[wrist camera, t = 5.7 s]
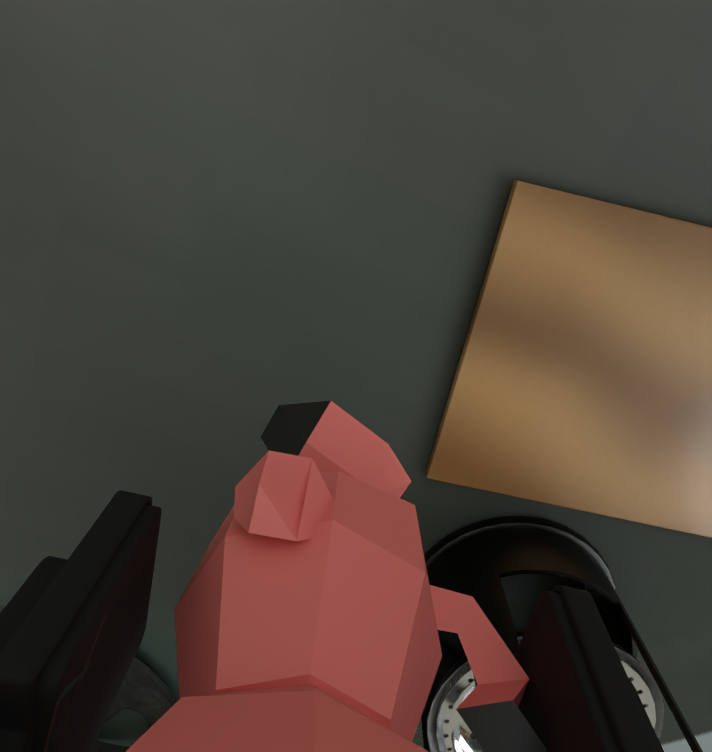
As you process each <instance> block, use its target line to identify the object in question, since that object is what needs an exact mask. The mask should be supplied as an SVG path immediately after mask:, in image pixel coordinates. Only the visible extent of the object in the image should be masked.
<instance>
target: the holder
mask: <svg viewBox="0 0 712 752" xmlns="http://www.w3.org/2000/svg"><path fill="white" fill-rule="evenodd" d="M176 702H177V699H176V698H175V696H174V695H173V693H172V691H171V690H170V688H169V687H168V686H167V685H166V684H165V683H164V682H163V681H162V680H161V679H160V678H159V677H158V676H157V675H156V674H155V673H154V672H153V671H152V670H151V669H150V668H149V667H148V666H146V665H145V664H144V663H142V662H141V661H140V660H138V659H137V658H136V657H134V659H133V661H132V663H131V665H130V667H129V670H128V672H127V674H126V676H125V678H124V680H123V683H122V685H121V687H120V689H119V691H118V693H117V695H116V698H115V700H114V702H113V704H112V706H111V708H110V710H109V713H108V715H107V717H106V719H105V721H107V720H108V719H110V718H111V717H113V716H114V715H115V714H117V713H118V712H120V711H121V710H125V709H129V710H135V711H137V712H139V713H140V714H142V715H143V716H144V717H145V718H146V720H147V721H148V723H149V725H150V727H152V726H153V725H154V724H155V723H156V722H157V721H158V720H159V719H160V718H161V717H162V716H163V715H164V714H165V713H166V712H167V711H168V710H169V709H170V708H171V707H172V706H173V705H174V704H175V703H176ZM105 721H104V722H105ZM102 748H103V752H126V751H127V750H128V749H129V748H130V747H124V746H118V745H113V744H109V743H105V742H101V741H98V740H96V741H95V743H94V745H93V747H92V749H91V751H90V752H99V751H100V750H101V749H102Z"/></svg>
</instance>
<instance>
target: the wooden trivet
mask: <svg viewBox="0 0 712 752" xmlns="http://www.w3.org/2000/svg"><path fill="white" fill-rule="evenodd" d="M426 476H427V478H428V479H433V480H438V481H442V482H447V483H452V484H457V485H461V486H466V487H471V488H476V489H481V490H485V491H490V492H495V493H500V494H505V495H509V496H514V497H519V498H524V499H528V500H533V501H538V502H543V503H548V504H552V505H557V506H562V507H567V508H572V509H576V510H581V511H586V512H591V513H595V514H600V515H605V516H610V517H615V518H619V519H624V520H629V521H634V522H638V523H643V524H648V525H653V526H658V527H662V528H667V529H672V530H677V531H682V532H686V533H691V534H696V535H701V536H705V537H710V538H712V227H708V226H704V225H700V224H696V223H692V222H688V221H683V220H679V219H675V218H671V217H667V216H663V215H659V214H655V213H650V212H646V211H642V210H638V209H634V208H630V207H626V206H622V205H617V204H613V203H609V202H605V201H601V200H597V199H593V198H589V197H584V196H580V195H576V194H572V193H568V192H564V191H560V190H556V189H552V188H547V187H543V186H539V185H535V184H531V183H527V182H523V181H519V180H514V182H513V186H512V189H511V192H510V196H509V199H508V202H507V206H506V209H505V212H504V216H503V219H502V222H501V225H500V229H499V232H498V235H497V239H496V242H495V245H494V249H493V252H492V255H491V258H490V262H489V265H488V268H487V272H486V275H485V278H484V282H483V285H482V288H481V291H480V295H479V298H478V301H477V305H476V308H475V311H474V315H473V318H472V321H471V325H470V328H469V331H468V334H467V338H466V341H465V344H464V348H463V351H462V354H461V358H460V361H459V364H458V367H457V371H456V374H455V377H454V381H453V384H452V387H451V391H450V394H449V397H448V401H447V404H446V407H445V410H444V414H443V417H442V420H441V424H440V427H439V430H438V434H437V437H436V440H435V443H434V447H433V450H432V453H431V457H430V460H429V463H428V467H427V470H426Z"/></svg>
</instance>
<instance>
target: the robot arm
mask: <svg viewBox="0 0 712 752" xmlns="http://www.w3.org/2000/svg"><path fill="white" fill-rule="evenodd" d="M160 519H161V508H160V507H156V506H152V498H151V497H149V496H145V495H140V494H136V493H131V492H126V491H122V490H120V491H118V492H117V493H116V494H115V495H114V497H113V498H112V499H111V501H110V502H109V504H108V505H107V506H106V508H105V509H104V511H103V512H102V513H101V515H100V516H99V517H98V519H97V520H96V522H95V523H94V524H93V526H92V527H91V529H90V530H89V531H88V533H87V534H86V535H85V537H84V538H83V540H82V541H81V542H80V544H79V545H78V547H77V548H76V549H75V551H74V552H73V553H72V555H71V556H70V558H69V559H68V560H66V559H62V558H57V557H52V556H48V557H46V558H44V559H43V560H42V561H41V563H40V564H39V565H38V566H37V567H36V568H35V570H34V571H33V572H32V574H31V575H30V576H29V577H28V579H27V580H26V581H25V583H24V584H23V585H22V586H21V588H20V589H19V590H18V592H17V593H16V594H15V595H14V597H13V598H12V599H11V600H10V602H9V603H8V604H7V606H6V607H5V608H4V609H3V611H2V612H1V613H0V752H44V748H45V744H46V740H47V736H48V732H49V729H50V725H51V721H52V717H53V713H54V709H55V706H56V703H57V701H58V699H59V697H60V695H61V693H62V691H63V689H65V688H66V687H67V686H68V685H69V684H70V683H71V682H72V681H73V680H74V679H75V678H76V677H77V676H79V675H80V674H81V673H82V672H83V670H84V667H85V665H86V662H87V659H88V657H89V654H90V652H91V649H92V646H93V644H94V641H95V638H96V636H97V633H98V631H99V628H100V625H101V623H102V620H103V618H104V616H105V615H106V614H107V616H106V618H105V621H104V624H103V626H102V629H101V632H100V634H99V637H98V639H97V642H96V645H95V647H94V650H93V653H92V655H91V658H90V660H89V663H88V666H89V665H90V664H91V663H93V662H94V661H95V660H96V661H95V662H94V663H93V664H92V665H91V666H90V667H89V668H88V670H87V671H86V672H85V673H84V676H83V679H82V681H81V684H80V687H79V689H78V692H77V694H76V697H75V700H74V702H73V705H72V708H71V710H70V713H69V715H68V718H67V721H66V723H65V726H64V728H63V731H62V734H61V736H60V739H59V742H58V744H57V747H56V749H55V752H90V751H91V749H92V747H93V745H94V743H95V741H96V738H97V736H98V734H99V732H100V730H101V728H102V726H103V723H104V721H105V719H106V717H107V715H108V713H109V710H110V708H111V706H112V704H113V702H114V700H115V698H116V695H117V693H118V691H119V689H120V687H121V685H122V683H123V680H124V678H125V676H126V674H127V672H128V670H129V667H130V665H131V663H132V661H133V659H134V657H135V655H136V652H137V650H138V648H139V646H140V643H141V641H142V638H143V635H144V631H145V627H146V622H147V614H148V607H149V600H150V592H151V585H152V578H153V570H154V563H155V556H156V548H157V541H158V534H159V526H160ZM146 563H147V564H146ZM142 568H143V569H142ZM138 573H139V574H138ZM134 578H135V579H134ZM130 583H131V584H130ZM127 587H128V588H127ZM126 588H127V589H126ZM123 592H124V593H123ZM122 593H123V594H122ZM119 597H120V598H119ZM118 598H119V599H118ZM117 599H118V600H117ZM115 602H116V603H115ZM114 603H115V604H114ZM113 604H114V605H113ZM112 606H113V607H112ZM111 607H112V608H111ZM110 608H111V609H110ZM109 609H110V610H109ZM108 611H109V612H108ZM107 612H108V613H107ZM514 657H515V659H516V660H517V662H518V663H519V664H520V666H521V667H522V669H523V670H524V672H525V673H526V675H527V676H528V677H529V681H528V684H527V686H526V689H525V691H524V694H523V696H522V699H521V701H520V704H519V706H518V708H519V710H520V711H521V713H522V714H523V715H524V717H525V718H526V720H527V721H528V723H529V724H530V726H531V727H532V729H533V730H534V731H535V733H536V734H537V736H538V737H539V739H540V740H541V742H542V743H543V745H544V746H545V747H546V749H547V752H664V751H663V749H662V746H661V744H660V742H659V739H658V737H657V735H656V733H655V731H654V728H653V726H652V724H651V722H650V719H649V717H648V715H647V713H646V710H645V708H644V706H643V704H642V702H641V699H640V697H639V695H638V693H637V690H636V689H635V687H634V685H633V684H632V682H631V681H630V680H629V678H628V676H627V674H626V672H625V669H624V667H623V665H622V663H621V660H620V658H619V656H618V654H617V651H616V649H615V647H614V645H613V642H612V640H611V638H610V636H609V633H608V631H607V629H606V627H605V624H604V622H603V620H602V618H601V615H600V613H599V611H598V609H597V606H596V604H595V602H594V600H593V597H592V596H591V594H590V593H589V592H588V591H585V590H581V589H576V588H571V587H567V586H562V585H555V586H554V587H553V588H552V589H551V591H543V592H542V593H541V595H540V597H539V599H538V602H537V604H536V606H535V609H534V611H533V613H532V616H531V618H530V621H529V623H528V625H527V628H526V630H525V632H524V635H523V637H522V639H521V642H520V644H519V646H518V649H517V651H516V654H515V656H514ZM88 666H87V667H88ZM80 678H81V677H80ZM79 680H80V679H79ZM79 680H78V681H77V682H76V683H75V684H74V685H73V686H72V688H71V689H70V690H69V691H68V692H67V693H66V694H65V695H64V696H63V698H62V699H61V700H60V703H59V707H58V711H57V714H56V718H55V722H54V726H53V729H52V733H51V737H50V741H49V744H48V748H47V752H52V751H53V749H54V746H55V743H56V741H57V738H58V736H59V733H60V730H61V728H62V725H63V722H64V720H65V717H66V715H67V712H68V709H69V707H70V704H71V701H72V699H73V696H74V694H75V691H76V688H77V686H78V683H79Z"/></svg>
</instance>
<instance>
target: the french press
mask: <svg viewBox="0 0 712 752" xmlns="http://www.w3.org/2000/svg"><path fill="white" fill-rule="evenodd" d="M424 558H425V563H426V569H427V574H428V580H429V585H432V586H436V587H439V588H443V589H447V590H450V591H454V592H458V593H461V594H465V595H469V596H472V597H473V598H474V599H475V601H476V602H477V604H478V605H479V607H480V608H481V609H482V611H483V612H484V614H485V615H486V617H487V618H488V620H489V621H490V622H491V624H492V625H493V627H494V628H495V630H496V631H497V633H498V634H499V635H500V637H501V638H502V640H503V641H504V643H505V644H506V646H507V647H508V648H509V650H510V651H511V653H512V654H513V656H515V654H516V651H517V649H518V646H519V644H520V642H521V639H522V637H523V635H524V632H525V630H526V628H525V629H519V630H515V628H514V625H513V622H512V618H511V615H510V612H509V608H508V605H507V602H506V598H505V595H504V592H503V588H502V585H501V581H500V577H505V576H511V575H517V574H550V575H556V576H563V577H567V578H570V579H573V580H576V581H579V582H582V583H583V585H584V588H585V590H586V591H588V592H589V593H590V594H591V596H592V597H593V600H594V602H595V604H596V606H597V609H598V611H599V613H600V615H601V618H602V620H603V622H604V624H605V627H606V629H607V631H608V633H609V636H610V638H611V640H612V642H613V645H614V647H615V649H616V651H617V654H618V656H619V658H620V660H621V663H622V665H623V667H624V669H625V672H626V674H627V676H628V678H629V680H630V681H631V682H632V684H633V685H634V687H635V689H636V690H637V693H638V695H639V697H640V699H641V702H642V704H643V706H644V708H645V710H646V713H647V715H648V717H649V719H650V722H651V724H652V726H653V728H654V731H655V733H656V735H657V737H658V739H659V738H660V736H661V732H662V727H663V722H664V706H663V699H662V696H661V694H660V691H661V693H662V695H663V696H664V698H665V700H666V702H667V704H668V706H669V708H670V710H671V712H672V713H673V715H674V717H675V719H676V721H677V723H678V725H679V727H680V729H681V731H682V732H683V734H684V736H685V738H686V740H687V742H688V744H689V746H690V748H691V750H692V751H693V752H703V751H702V750H701V748H700V746H699V744H698V742H697V740H696V738H695V737H694V735H693V733H692V731H691V729H690V727H689V726H688V724H687V722H686V720H685V718H684V716H683V715H682V713H681V711H680V709H679V707H678V705H677V703H676V702H675V700H674V698H673V696H672V694H671V692H670V691H669V689H668V687H667V685H666V683H665V681H664V680H663V678H662V676H661V674H660V672H659V670H658V669H657V667H656V665H655V663H654V661H653V659H652V657H651V656H650V654H649V652H648V650H647V648H646V646H645V645H644V643H643V641H642V639H641V637H640V635H639V634H638V632H637V630H636V628H635V626H634V624H633V623H632V621H631V619H630V617H629V615H628V613H627V611H626V610H625V608H624V606H623V604H622V602H621V600H620V599H619V597H618V595H617V593H616V590H615V583H614V580H613V578H612V575H611V572H610V570H609V567H608V566H607V564H606V562H605V561H604V560H603V558H602V557H601V555H600V554H599V552H598V551H597V550H596V549H595V548H594V547H593V546H592V545H591V544H590V543H589V542H588V541H587V540H586V539H585V538H583V537H582V536H580V535H579V534H577V533H575V532H573V531H572V530H570V529H568V528H567V527H565V526H562V525H559V524H556V523H553V522H551V521H548V520H543V519H537V518H531V517H500V518H495V519H489V520H484V521H480V522H478V523H475V524H472V525H469V526H466V527H464V528H461V529H460V530H458V531H456V532H454V533H452V534H451V535H449V536H447V537H445V538H444V539H443V540H441V541H440V542H439V543H438V544H437V545H435V546H434V547H433V548H432V549H431V550H429V551H428V553H427V554H426V555H425V556H424ZM438 635H439V634H438ZM439 641H440V646H441V652H442V658H441V661H440V664H439V667H438V670H437V672H436V675H435V678H434V681H433V684H432V687H431V690H430V693H429V695H428V698H427V701H426V704H425V707H424V710H423V713H422V716H421V720H422V731H423V742H424V749H425V750H427V751H428V752H485V751H484V750H483V748H482V747H481V745H480V744H479V742H478V741H477V739H476V738H475V736H474V735H473V733H472V732H471V730H470V729H469V728H468V726H467V725H466V723H465V722H464V720H463V719H462V717H461V716H460V714H459V713H458V711H457V710H456V708H457V707H458V706H459V705H460V704H461V703H462V702H463V700H464V699H465V698H466V697H467V696H468V695H469V694H470V693H471V691H472V690H473V689H474V688H475V687H476V686H477V685H478V684H477V682H476V679H475V677H474V674H473V672H472V669H471V666H470V664H469V661H468V659H467V656H466V654H464V655H463V656H462V657H461V656H459V655H457V654H456V653H455V652H454V651H452V650H451V649H450V648H449V647H448V646H447V645H446V644H445V643H444V641H443V640H442V639H441V638H440V636H439ZM637 647H638V649H639V651H640V653H641V655H642V657H643V658H644V660H645V662H646V664H647V666H648V668H649V670H650V672H651V674H652V676H653V677H654V679H655V680H654V679H653V678H652V676H651V675H650V673H649V672H648V671H647V669H646V668H645V667H644V666H642V665H641V664H640V662H639V661H638V660H637V659H636V658H637V652H638V650H637ZM655 681H656V682H655ZM658 687H659V688H658ZM659 689H660V691H659Z"/></svg>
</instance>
